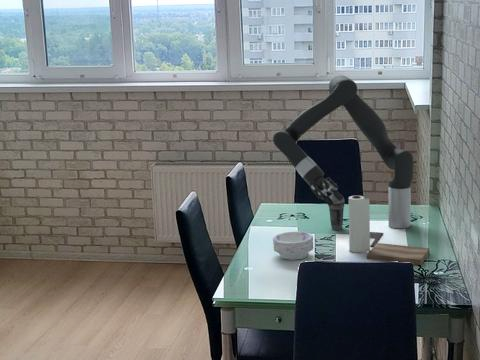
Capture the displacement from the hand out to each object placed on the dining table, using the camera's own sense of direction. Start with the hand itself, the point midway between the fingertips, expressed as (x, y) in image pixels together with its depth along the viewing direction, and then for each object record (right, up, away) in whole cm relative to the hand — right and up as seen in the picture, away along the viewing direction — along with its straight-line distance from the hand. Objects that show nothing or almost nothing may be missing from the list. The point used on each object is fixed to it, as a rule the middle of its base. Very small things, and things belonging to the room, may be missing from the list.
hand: (336, 202), depth 273 cm
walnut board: (+22, -20, -9) cm, 31 cm away
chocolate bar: (+14, -16, +13) cm, 25 cm away
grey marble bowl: (-17, -21, -3) cm, 27 cm away
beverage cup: (+4, -12, +30) cm, 33 cm away
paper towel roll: (+8, -19, -1) cm, 21 cm away
